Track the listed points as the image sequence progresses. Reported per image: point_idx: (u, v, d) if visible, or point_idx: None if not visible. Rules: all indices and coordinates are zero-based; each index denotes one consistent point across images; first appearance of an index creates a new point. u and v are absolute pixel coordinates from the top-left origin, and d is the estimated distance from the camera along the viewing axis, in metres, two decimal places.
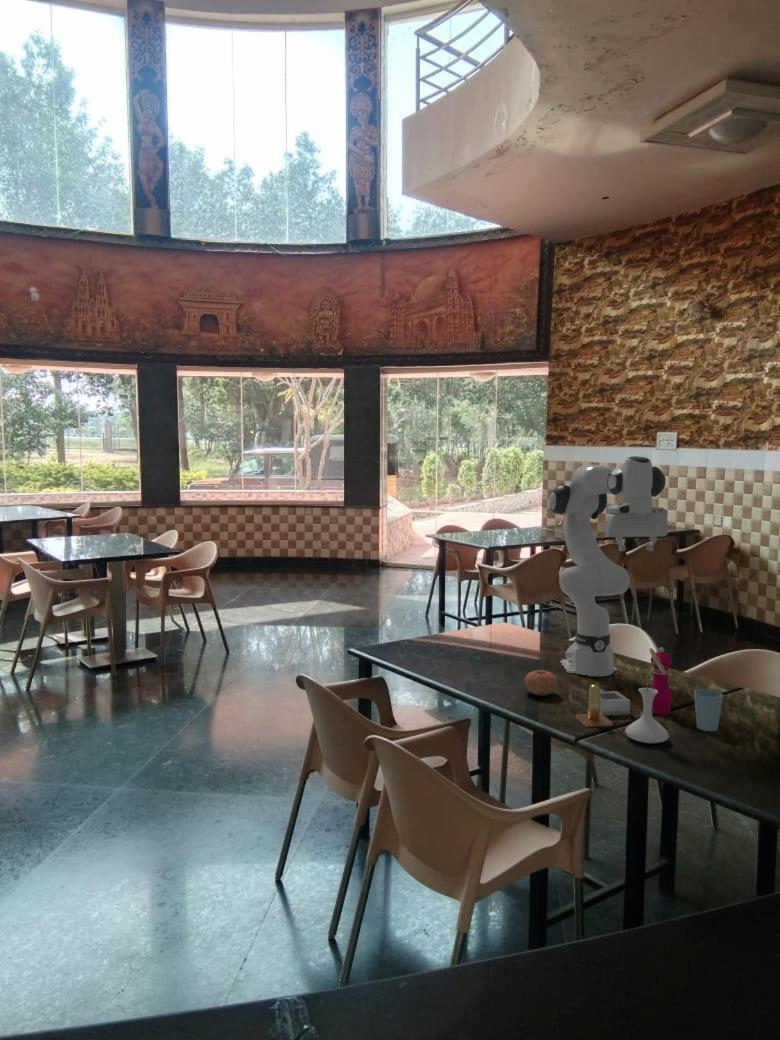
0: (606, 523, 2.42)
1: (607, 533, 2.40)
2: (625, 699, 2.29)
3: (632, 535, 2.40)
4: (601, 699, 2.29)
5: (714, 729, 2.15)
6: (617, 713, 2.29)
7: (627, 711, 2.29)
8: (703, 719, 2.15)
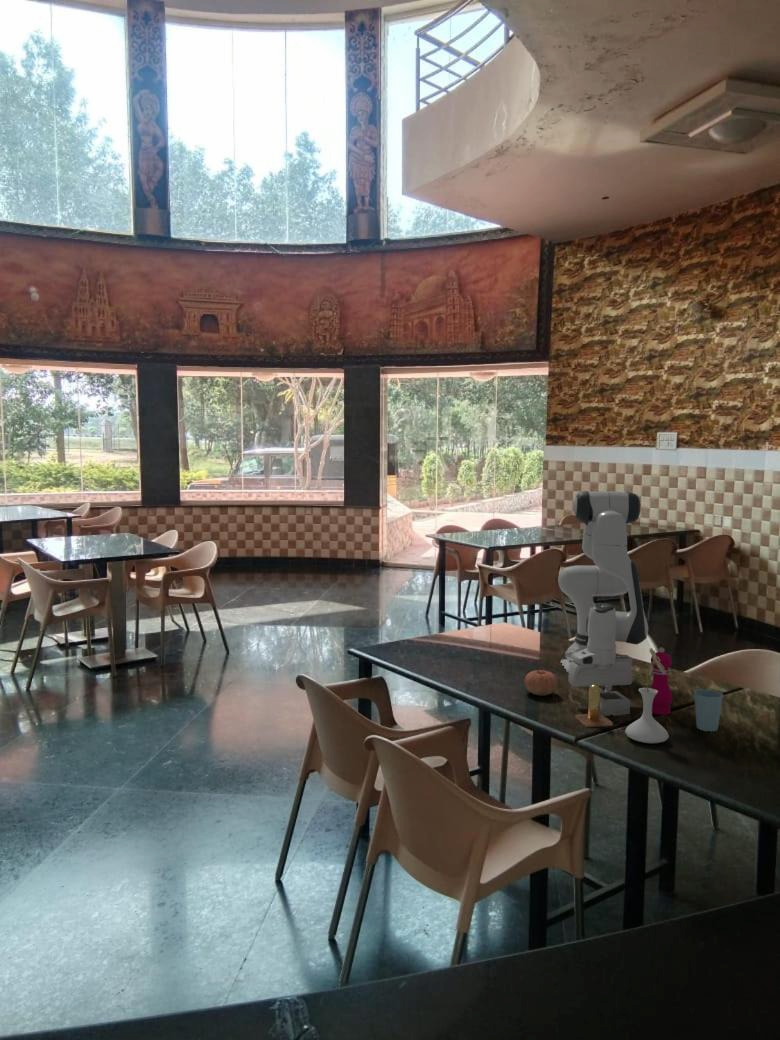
0: (569, 671, 2.38)
1: (570, 682, 2.37)
2: (625, 699, 2.29)
3: (596, 684, 2.37)
4: (601, 699, 2.29)
5: (714, 729, 2.15)
6: (617, 713, 2.29)
7: (627, 711, 2.29)
8: (703, 719, 2.15)
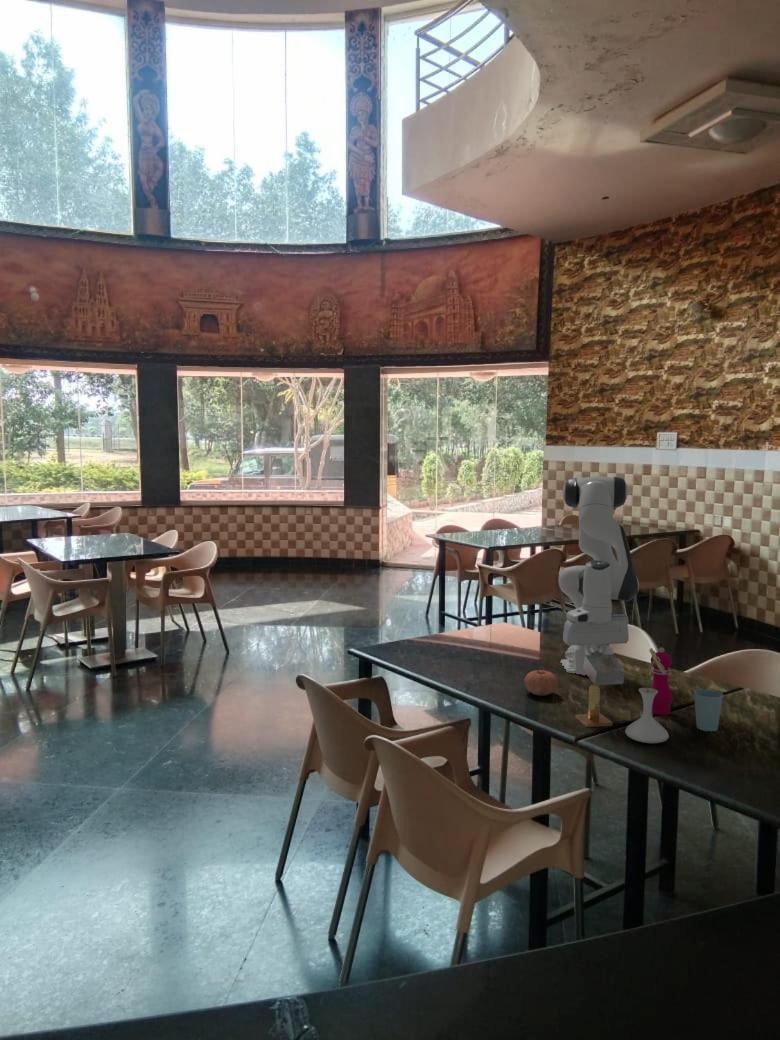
0: (564, 629, 2.33)
1: (565, 641, 2.32)
2: (620, 669, 2.25)
3: (591, 643, 2.32)
4: (596, 668, 2.25)
5: (714, 729, 2.15)
6: (610, 682, 2.25)
7: (621, 681, 2.26)
8: (703, 719, 2.15)
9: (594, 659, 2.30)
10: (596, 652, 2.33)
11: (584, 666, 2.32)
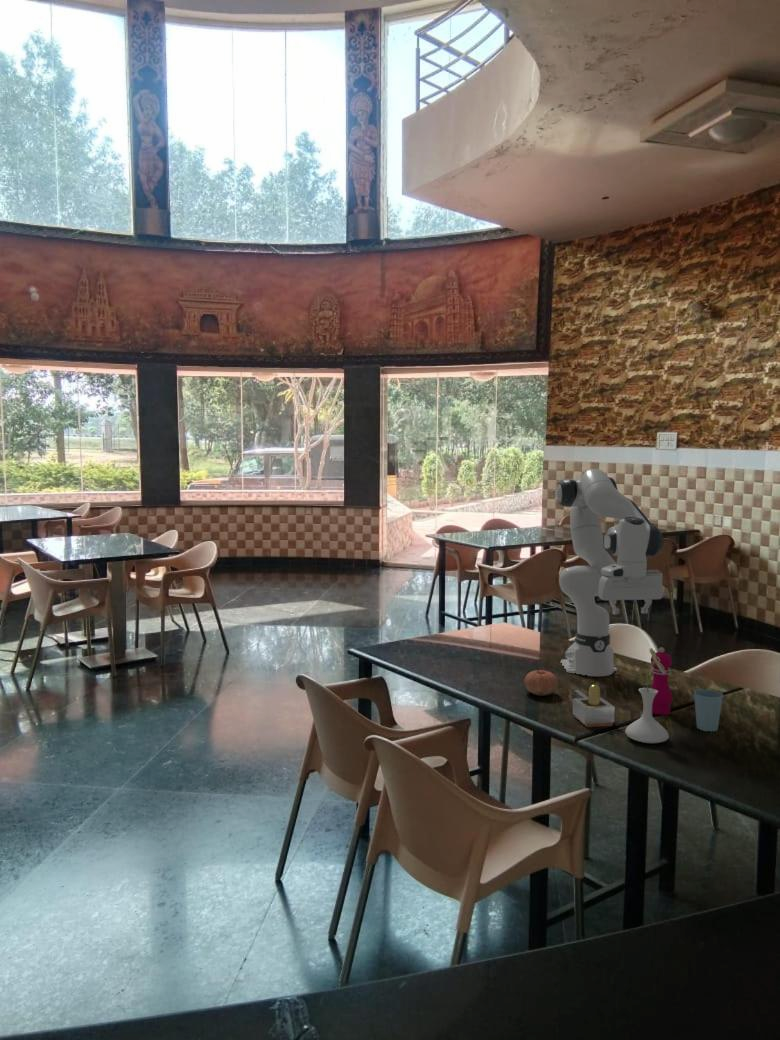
0: (599, 585, 2.35)
1: (600, 596, 2.33)
2: (609, 706, 2.20)
3: (626, 598, 2.33)
4: (584, 706, 2.20)
5: (714, 729, 2.15)
6: (601, 720, 2.19)
7: (612, 719, 2.19)
8: (703, 719, 2.15)
9: (582, 701, 2.26)
10: (584, 696, 2.29)
11: (573, 710, 2.26)
